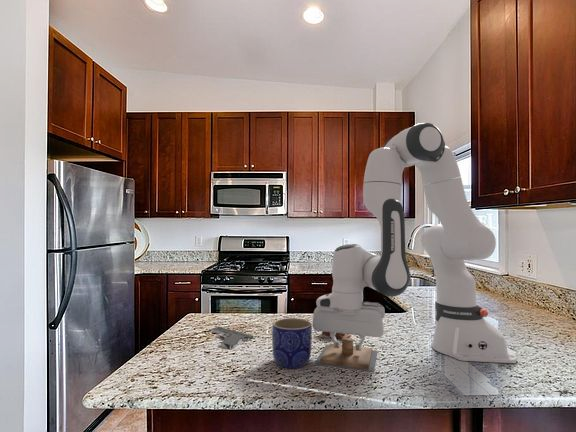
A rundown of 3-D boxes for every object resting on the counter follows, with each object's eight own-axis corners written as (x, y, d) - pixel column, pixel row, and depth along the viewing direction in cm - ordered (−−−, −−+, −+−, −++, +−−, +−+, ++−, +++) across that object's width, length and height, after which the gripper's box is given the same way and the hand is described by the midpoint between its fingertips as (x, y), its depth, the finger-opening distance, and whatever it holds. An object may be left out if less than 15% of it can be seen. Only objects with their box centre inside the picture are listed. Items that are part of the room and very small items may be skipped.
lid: (372, 351, 101) (372, 335, 101) (368, 369, 88) (368, 349, 88) (329, 346, 105) (329, 330, 105) (320, 362, 92) (320, 344, 92)
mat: (377, 352, 101) (377, 350, 102) (374, 373, 86) (374, 372, 86) (325, 345, 107) (325, 344, 107) (313, 365, 91) (313, 364, 91)
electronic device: (343, 342, 110) (343, 319, 111) (321, 335, 117) (321, 313, 118) (351, 339, 113) (351, 316, 114) (329, 332, 120) (329, 311, 121)
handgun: (192, 339, 114) (218, 330, 124) (231, 351, 103) (257, 340, 113) (192, 334, 114) (218, 325, 124) (231, 345, 103) (257, 335, 113)
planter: (266, 359, 95) (267, 320, 96) (301, 354, 99) (301, 316, 100) (280, 375, 85) (280, 331, 86) (318, 368, 89) (318, 326, 90)
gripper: (385, 300, 97) (385, 349, 96) (316, 296, 103) (316, 341, 103) (384, 305, 91) (384, 357, 90) (311, 300, 97) (310, 348, 97)
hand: (347, 348), depth 97 cm, fingers open, 5 cm apart
